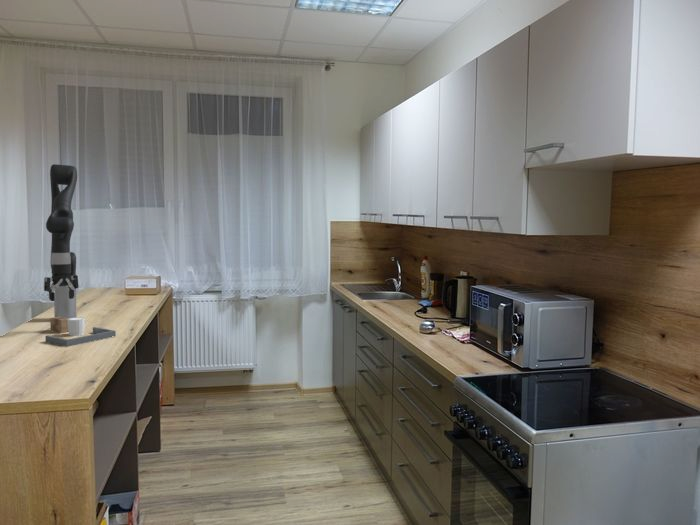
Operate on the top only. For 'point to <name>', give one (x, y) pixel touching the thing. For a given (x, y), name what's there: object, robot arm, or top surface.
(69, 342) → the grey u-shaped bracket
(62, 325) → the block
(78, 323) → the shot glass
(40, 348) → the top surface
